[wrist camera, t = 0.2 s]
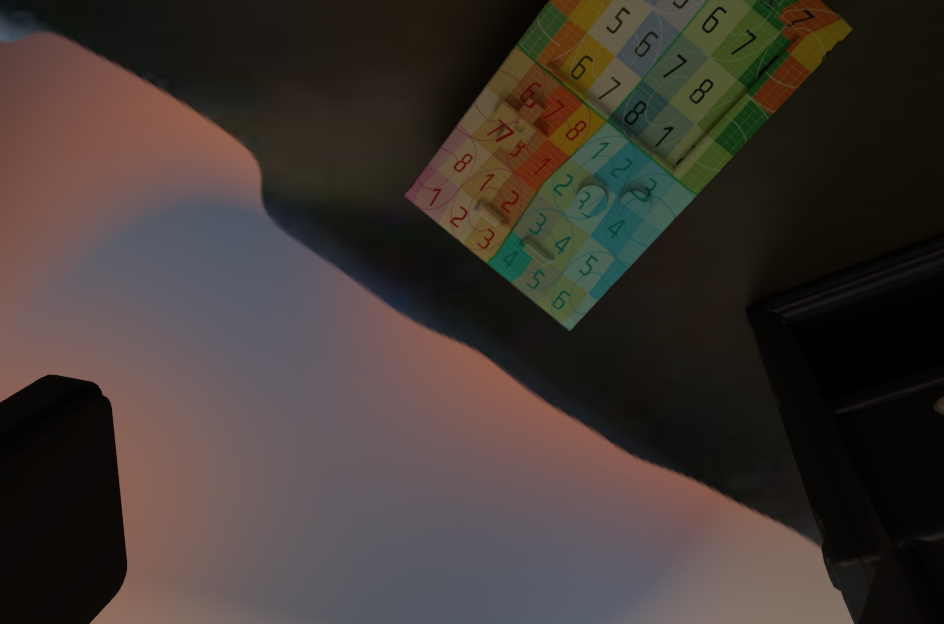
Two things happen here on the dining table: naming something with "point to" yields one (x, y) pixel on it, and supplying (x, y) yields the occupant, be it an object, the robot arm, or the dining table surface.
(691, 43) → the puzzle game
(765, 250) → the dining table surface
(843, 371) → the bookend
